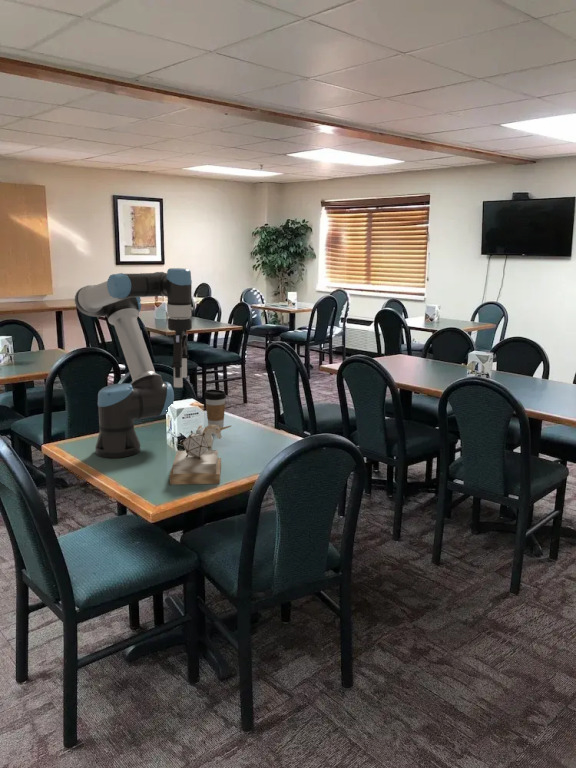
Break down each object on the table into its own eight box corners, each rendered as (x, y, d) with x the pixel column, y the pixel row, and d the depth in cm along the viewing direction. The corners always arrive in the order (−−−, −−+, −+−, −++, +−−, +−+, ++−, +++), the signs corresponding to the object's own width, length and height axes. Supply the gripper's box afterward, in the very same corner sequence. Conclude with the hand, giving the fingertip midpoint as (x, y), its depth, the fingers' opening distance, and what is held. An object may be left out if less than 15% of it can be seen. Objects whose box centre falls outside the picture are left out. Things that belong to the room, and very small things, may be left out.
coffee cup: (210, 424, 252) (209, 388, 249) (229, 425, 250) (229, 389, 247) (201, 429, 245) (201, 392, 241) (222, 431, 242) (221, 394, 239)
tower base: (169, 484, 188) (169, 465, 186) (174, 467, 202) (174, 449, 201) (219, 483, 189) (219, 464, 187) (221, 466, 203) (220, 449, 202)
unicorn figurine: (213, 468, 201) (212, 429, 199) (184, 453, 217) (183, 416, 214) (232, 464, 206) (231, 425, 203) (202, 449, 221) (202, 413, 218)
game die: (191, 467, 196) (183, 438, 199) (216, 457, 196) (207, 428, 199) (182, 462, 188) (174, 431, 191) (208, 452, 187) (199, 422, 191)
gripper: (187, 323, 186) (188, 391, 191) (195, 312, 211) (195, 373, 216) (162, 323, 186) (163, 391, 191) (172, 312, 210) (173, 373, 215)
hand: (180, 382), depth 203 cm, fingers open, 13 cm apart
